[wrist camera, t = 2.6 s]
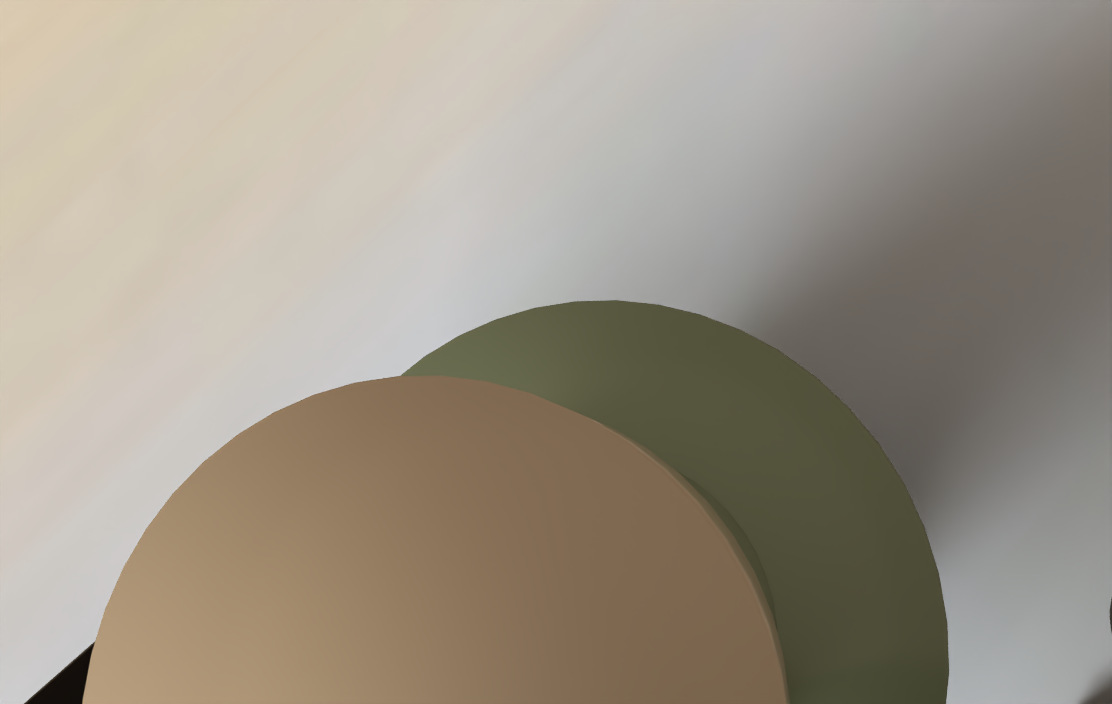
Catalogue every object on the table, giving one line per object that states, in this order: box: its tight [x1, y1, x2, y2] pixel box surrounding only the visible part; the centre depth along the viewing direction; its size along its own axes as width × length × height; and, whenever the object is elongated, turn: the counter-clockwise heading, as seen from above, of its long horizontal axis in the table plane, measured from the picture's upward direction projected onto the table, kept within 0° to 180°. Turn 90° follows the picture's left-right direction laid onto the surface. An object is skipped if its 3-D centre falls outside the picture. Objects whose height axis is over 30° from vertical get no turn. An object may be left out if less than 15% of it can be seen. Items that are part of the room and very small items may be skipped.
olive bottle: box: [83, 300, 949, 704], centre depth 11 cm, size 5×5×14 cm
